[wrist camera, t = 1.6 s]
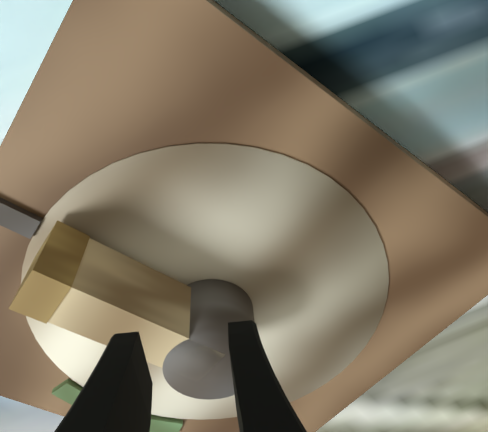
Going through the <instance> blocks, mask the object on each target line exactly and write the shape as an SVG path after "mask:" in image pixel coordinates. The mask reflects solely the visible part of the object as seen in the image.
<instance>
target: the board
mask: <svg viewBox="0 0 488 432" xmlns="http://www.w3.org/2000/svg"><path fill="white" fill-rule="evenodd" d="M57 220H58V221H60V222H62V223H64V224H66V225H68V226H70V227H72V228H74V229H76V230H78V231H80V232H82V233H85V234H87V235H89V236H90V238H91V239H93V240H95V241H97V242H99V243H101V244H103V245H105V246H107V247H109V248H111V249H113V250H115V251H117V252H120V253H122V254H124V255H126V256H128V257H130V258H132V259H134V260H136V261H138V262H140V263H142V264H144V265H146V266H148V267H150V268H152V269H154V270H157V271H159V272H161V273H163V274H165V275H167V276H169V277H171V278H173V279H175V280H177V281H179V282H181V283H183V284H185V285H188V284H190V283H193V282H196V281H200V280H206V279H218V280H224V281H228V282H231V283H233V284H235V285H237V286H239V287H240V288H242V289H243V290H244V291H245V292H246V293H247V294H248V296H249V297H250V299H251V301H252V305H253V312H254V320H255V323H256V325H257V329H258V333H259V336H260V339H261V342H262V345H263V348H264V350H265V353H266V355H267V358H268V360H269V362H270V365H271V367H272V369H273V371H274V373H275V375H276V377H277V379H278V381H279V383H280V385H281V387H282V389H283V391H284V393H285V395H286V397H287V398H288V400H289V402H290V404H291V406H292V407H293V409H294V411H295V412H296V414H297V416H298V418H299V419H300V421H301V423H302V424H303V426H304V428H305V429H306V431H307V432H315V431H317V430H318V429H319V428H320V427H322V426H323V425H324V424H325V423H327V422H328V421H329V420H331V419H332V418H333V417H334V416H336V415H337V414H338V413H339V412H341V411H342V410H343V409H344V408H346V407H347V406H348V405H349V404H351V403H352V402H353V401H354V400H356V399H357V398H358V397H360V396H361V395H362V394H363V393H365V392H366V391H367V390H368V389H370V388H371V387H372V386H373V385H375V384H376V383H377V382H378V381H380V380H381V379H382V378H383V377H385V376H386V375H387V374H389V373H390V372H391V371H392V370H394V369H395V368H396V367H397V366H399V365H400V364H401V363H402V362H404V361H405V360H406V359H407V358H409V357H410V356H411V355H413V354H414V353H415V352H416V351H418V350H419V349H420V348H421V347H423V346H424V345H425V344H426V343H428V342H429V341H430V340H431V339H433V338H434V337H435V336H436V335H438V334H439V333H440V332H442V331H443V330H444V329H445V328H447V327H448V326H449V325H450V324H452V323H453V322H454V321H455V320H457V319H458V318H459V317H460V316H462V315H463V314H464V313H465V312H467V311H468V310H469V309H471V308H472V307H473V306H474V305H476V304H477V303H478V302H479V301H481V300H482V299H483V298H484V297H486V296H487V295H488V212H486V211H485V210H484V209H483V208H481V207H480V206H479V205H477V204H476V203H475V202H473V201H472V200H471V199H470V198H468V197H467V196H466V195H464V194H463V193H462V192H461V191H459V190H458V189H457V188H455V187H454V186H453V185H452V184H450V183H449V182H448V181H446V180H445V179H444V178H442V177H441V176H440V175H439V174H437V173H436V172H435V171H433V170H432V169H431V168H430V167H428V166H427V165H426V164H424V163H423V162H422V161H421V160H419V159H418V158H417V157H415V156H414V155H413V154H411V153H410V152H409V151H408V150H406V149H405V148H404V147H402V146H401V145H400V144H399V143H397V142H396V141H395V140H393V139H392V138H391V137H390V136H388V135H387V134H386V133H384V132H383V131H382V130H380V129H379V128H378V127H377V126H375V125H374V124H373V123H371V122H370V121H369V120H368V119H366V118H365V117H364V116H362V115H361V114H360V113H358V112H357V111H356V110H355V109H353V108H352V107H351V106H349V105H348V104H347V103H346V102H344V101H343V100H342V99H340V98H339V97H338V96H337V95H335V94H334V93H333V92H331V91H330V90H329V89H327V88H326V87H325V86H324V85H322V84H321V83H320V82H318V81H317V80H316V79H315V78H313V77H312V76H311V75H309V74H308V73H307V72H306V71H304V70H303V69H302V68H300V67H299V66H298V65H296V64H295V63H294V62H293V61H291V60H290V59H289V58H287V57H286V56H285V55H284V54H282V53H281V52H280V51H278V50H277V49H276V48H274V47H273V46H272V45H271V44H269V43H268V42H267V41H265V40H264V39H263V38H262V37H260V36H259V35H258V34H256V33H255V32H254V31H253V30H251V29H250V28H249V27H247V26H246V25H245V24H243V23H242V22H241V21H240V20H238V19H237V18H236V17H234V16H233V15H232V14H231V13H229V12H228V11H227V10H225V9H224V8H223V7H222V6H220V5H219V4H218V3H216V2H215V1H214V0H73V1H72V3H71V5H70V7H69V9H68V11H67V13H66V15H65V17H64V19H63V21H62V23H61V25H60V27H59V29H58V31H57V33H56V35H55V37H54V39H53V41H52V43H51V46H50V48H49V50H48V52H47V54H46V56H45V58H44V60H43V62H42V64H41V66H40V68H39V70H38V72H37V74H36V76H35V78H34V80H33V82H32V84H31V86H30V88H29V90H28V92H27V94H26V96H25V98H24V100H23V102H22V104H21V106H20V108H19V110H18V112H17V114H16V116H15V118H14V120H13V122H12V124H11V126H10V128H9V130H8V132H7V134H6V136H5V138H4V140H3V142H2V144H1V146H0V396H3V397H6V398H9V399H12V400H16V401H19V402H22V403H25V404H28V405H31V406H34V407H37V408H40V409H43V410H46V411H49V412H52V413H55V414H58V415H62V416H66V414H67V412H68V411H69V409H70V408H71V406H72V405H73V403H74V401H75V400H76V398H77V396H78V395H79V393H80V392H81V390H82V388H83V387H84V385H85V384H86V382H87V380H88V378H89V377H90V375H91V373H92V372H93V370H94V368H95V366H96V365H97V363H98V361H99V359H100V357H101V356H102V354H103V352H104V350H105V348H106V345H103V344H101V343H98V342H96V341H93V340H91V339H88V338H86V337H83V336H81V335H78V334H76V333H73V332H71V331H68V330H66V329H63V328H61V327H58V326H56V325H53V324H51V323H48V322H47V324H45V323H43V322H40V321H38V320H35V319H33V318H30V317H28V316H25V315H23V314H20V313H18V312H15V311H13V310H10V309H9V307H10V305H11V303H12V301H13V299H14V297H15V295H16V293H17V291H18V289H19V287H20V285H21V283H22V281H23V279H24V277H25V276H26V274H27V272H28V270H29V268H30V266H31V264H32V262H33V260H34V258H35V256H36V254H37V253H38V251H39V249H40V248H41V246H42V245H43V243H44V241H45V240H46V238H47V236H48V235H49V233H50V232H51V230H52V228H53V227H54V225H55V223H56V222H57ZM147 364H148V368H149V372H150V376H151V379H152V383H153V386H152V409H151V425H150V431H149V432H240V431H239V424H238V418H237V411H236V403H235V395H233V396H230V397H226V398H221V399H211V400H206V399H196V398H192V397H189V396H185V395H183V394H181V393H179V392H177V391H176V390H174V389H173V388H172V387H171V386H170V385H169V384H168V383H167V381H166V380H165V378H164V375H163V369H162V368H161V367H158V366H156V365H153V364H151V363H148V362H147Z"/></svg>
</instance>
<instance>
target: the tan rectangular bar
mask: <svg viewBox="0 0 488 432" xmlns="http://www.w3.org/2000/svg"><path fill="white" fill-rule="evenodd" d="M9 309H10V310H13V311H15V312H18V313H20V314H23V315H25V316H28V317H30V318H33V319H35V320H38V321H40V322H43V323H45V324H47V322H48V323H51V324H53V325H56V326H58V327H61V328H63V329H66V330H68V331H71V332H73V333H76V334H78V335H81V336H83V337H86V338H88V339H91V340H93V341H96V342H98V343H101V344H103V345H106V346H107V345H108V343H109V341H110V339H111V337H112V336H113V335H114V334H118V333H128V332H138V331H139V335H140V338H141V342H142V346H143V350H144V353H145V357H146V361H147V362H148V363H151V364H153V365H156V366H158V367H161V368H162V369H163V375H164V378H165V380H166V381H167V383H168V384H169V385H170V386H171V387H172V388H173V389H174V390H176V391H177V392H179V393H181V394H183V395H185V396H189V397H192V398H196V399H206V400H211V399H221V398H226V397H230V396H233V395H234V386H233V378H232V370H231V361H230V353H229V341H228V323H229V322H239V321H249V320H252V321H254V322H255V320H254V312H253V305H252V301H251V299H250V297H249V296H248V294H247V293H246V292H245V291H244V290H243V289H242V288H240V287H239V286H237V285H235V284H233V283H231V282H228V281H224V280H218V279H206V280H200V281H196V282H193V283H190V284H188V285H185V284H183V283H181V282H179V281H177V280H175V279H173V278H171V277H169V276H167V275H165V274H163V273H161V272H159V271H157V270H154V269H152V268H150V267H148V266H146V265H144V264H142V263H140V262H138V261H136V260H134V259H132V258H130V257H128V256H126V255H124V254H122V253H120V252H117V251H115V250H113V249H111V248H109V247H107V246H105V245H103V244H101V243H99V242H97V241H95V240H93V239H91V238H90V236H89V235H87V234H85V233H82V232H80V231H78V230H76V229H74V228H72V227H70V226H68V225H66V224H64V223H62V222H60V221H58V220H57V222H56V223H55V225H54V227H53V228H52V230H51V232H50V233H49V235H48V236H47V238H46V240H45V241H44V243H43V245H42V246H41V248H40V249H39V251H38V253H37V254H36V256H35V258H34V260H33V262H32V264H31V266H30V268H29V270H28V272H27V274H26V276H25V277H24V279H23V281H22V283H21V285H20V287H19V289H18V291H17V293H16V295H15V297H14V299H13V301H12V303H11V305H10V307H9Z"/></svg>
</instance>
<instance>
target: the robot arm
mask: <svg viewBox="0 0 488 432" xmlns="http://www.w3.org/2000/svg"><path fill="white" fill-rule="evenodd" d="M228 341H229V353H230V361H231V370H232V378H233V386H234V395H235V403H236V411H237V418H238V424H239V431H240V432H307V431H306V429H305V428H304V426H303V424H302V423H301V421H300V419H299V418H298V416H297V414H296V412H295V411H294V409H293V407H292V406H291V404H290V402H289V400H288V398H287V397H286V395H285V393H284V391H283V389H282V387H281V385H280V383H279V381H278V379H277V377H276V375H275V373H274V371H273V369H272V367H271V365H270V362H269V360H268V358H267V355H266V353H265V350H264V348H263V345H262V342H261V339H260V336H259V333H258V329H257V325H256V323H255V322H254V321H252V320H249V321H239V322H229V323H228ZM152 386H153V383H152V379H151V376H150V372H149V368H148V364H147V361H146V357H145V353H144V350H143V346H142V342H141V338H140V335H139V331H138V332H128V333H118V334H114V335H113V336H112V337H111V339H110V341H109V343H108V345H107V346H106V348H105V350H104V352H103V354H102V356H101V357H100V359H99V361H98V363H97V365H96V366H95V368H94V370H93V372H92V373H91V375H90V377H89V378H88V380H87V382H86V384H85V385H84V387H83V388H82V390H81V392H80V393H79V395H78V396H77V398H76V400H75V401H74V403H73V405H72V406H71V408H70V409H69V411H68V412H67V414H66V416H65V417H64V419H63V420H62V421H61V423H60V424H59V426H58V427H57V429H56V430H55V432H149V431H150V425H151V409H152Z"/></svg>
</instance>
